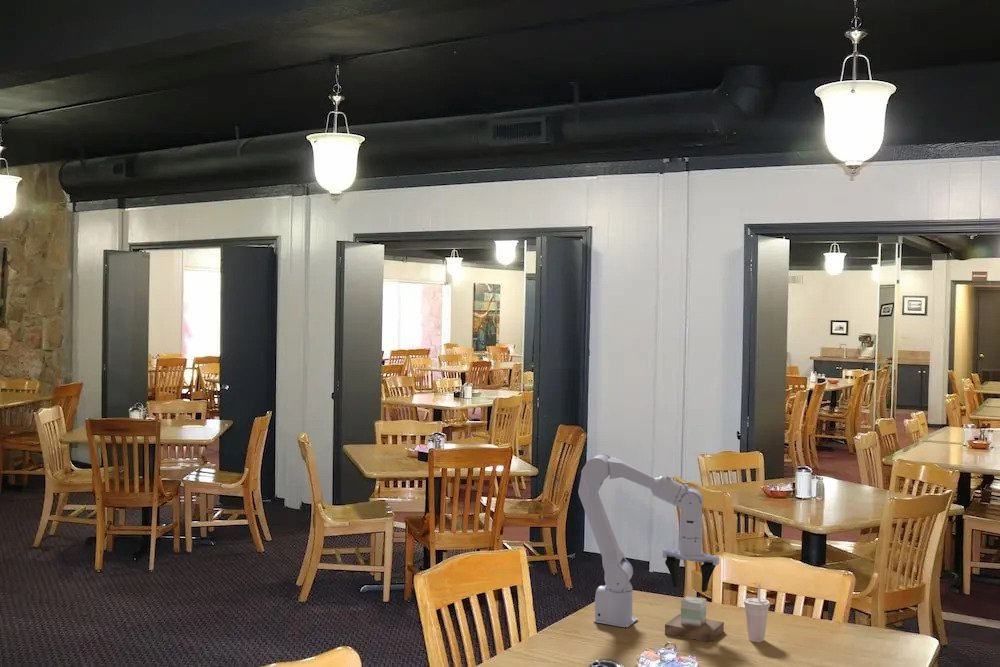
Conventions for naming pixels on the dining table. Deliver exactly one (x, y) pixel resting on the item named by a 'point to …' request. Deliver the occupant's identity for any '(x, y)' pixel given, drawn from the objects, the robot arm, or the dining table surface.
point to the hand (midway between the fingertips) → (690, 588)
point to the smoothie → (756, 617)
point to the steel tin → (693, 611)
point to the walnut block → (695, 629)
